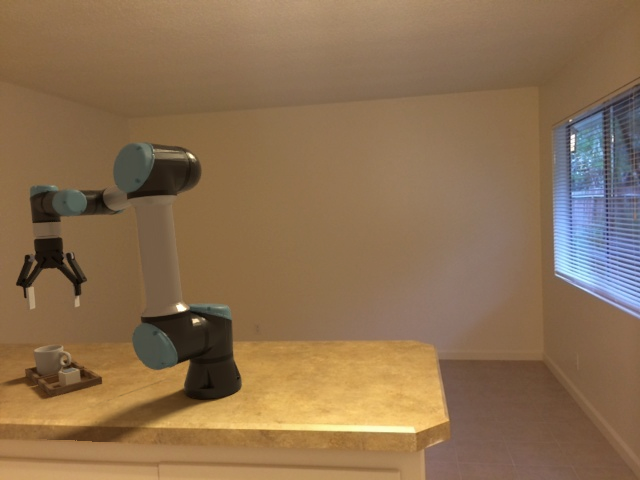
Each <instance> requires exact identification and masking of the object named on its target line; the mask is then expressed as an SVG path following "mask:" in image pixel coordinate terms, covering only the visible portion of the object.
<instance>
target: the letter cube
mask: <svg viewBox="0 0 640 480" xmlns="http://www.w3.org/2000/svg"><path fill="white" fill-rule="evenodd" d="M58 373H59V385H60V386H65V385H69V384H73V383H76V382H80V381H81V380H80V370H78V369H75V368H70V369H66V370H63V371H60V372H58Z"/></svg>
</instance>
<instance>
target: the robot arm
mask: <svg viewBox="0 0 640 480" xmlns="http://www.w3.org/2000/svg"><path fill="white" fill-rule="evenodd" d="M202 171H203V169H202V164H201V162H200V160H199V158H198V156H197V155H196V154H195V153H194V152H193V151H191V150H190V149H187V148H186V147H183V146H178V145H177V146H176V145H166V144H158V143H151V142H131V143H127V144H126V145H124V146H123V147H122V148H121V149H120V150H119V151H118V153H117V155H116V157H115V160H114V163H113V169H112V176H113V181H114V184H113V185H111V186H108V187H107V188H104V189H100V190H99V189H98V190H97V189H96V190H95V189H94V190H90V189H85V190H84V189H82V190H81V189H74V188H73V189H72V188H70V189H68V188H65V189H64V188H63V189H60V190H59V187H58V186H57V185H53V184H39V185H36V184H35V185H31V186H30V188H29V203H30V213H31V221H32V225H31V226H32V233H33V234H32V236H33V238H34V240H33V247H34V251H35V254H32V253H29V254H25V255H24V262H23V265H22V267H21V270H20V273H19V275H18V277H17V280H16V282H15V285H16V286H17V287H20V288H22V290H23V297H24V299H26V305H27V307H26V308H27V310H29V311H30V310H33V309H36V299H35V298H36V297H35V287H34V286H33V285H32V284H34V282H35V280H36V279H37V278H38V276H39V275H40V274H41V272H42V271H44V270H47V269H52V270H53V269H57V270H59V271H60V272H61V274H63V275H64V277H66V278H67V279H68V280H69V281H70V283H72V285H71V286H70V289H71V292H70V293H71V303H72V304H71V305H72V308H74V309H75V308H78V307H80V306H81V304H80V296H81V295H82V284H84V283H87V282H88V279H87V277H86V275H85V274H84V272H83V270H82V268H81V266H80V264H79V263H78V261H77V260H76V256H75V253H74V251H71V252H67V253H64V250H63V249H64V243H63V241H64V240H63V238H62V236H63V231H62V222H61V221H62V219H61V218H62V217H81V216H100V215H101V216H104V215H105V216H106V215H107V216H114V215H121V214H122V213H124V211H125V210H126V209H128V208H129V207H133V208H134V211H135V220H136V221H135V222H136V228H137V230H136V231H137V237H138V247H139V248H138V249H139V255H140V263H141V264H140V265H141V273H142V280H143V281H142V282H143V290H144V291H143V293H144V298H145V308H144V309H143V310H142V312H141V313H140V322H141V323H140V324H138V325H137V326H136V327H135V328H134V330H133V332H132V337H131V341H132V347H133V350H134V352H135V355H136V358H138V359H139V360H140V361H141V362H142V364H143V365H144V366H145V367H146V368H148V369H150V370H153V371H160V370H165V369H168V368H174V367H175V366H176V365H179V364H182V363H185V362H188V361H189V363H188V364H189V365H188V368H187V372H186V376H185V380H184V383H183V387H184V389H183V390H184V391H183V392H184V394H185V396H187V397H189V398H193V399H197V400H198V399H199V400H211V399H217V398H218V399H220V398H222V397H226V396H230V395H233V394H235V393H236V392H238V391H239V390H241V388H242V386H243V385H242V383H243V381H242V376H241V374H240V373H241V372H240V371H239V368H238V366H237V363H236V361H235V358H234V357H235V355H234V336H233V318H232V312H231V311H232V310H231V308H230V307H229V305H227V304H222V303H208V302H207V303H205V302H203V303H189V304H186V303H185V301H183V300H184V299H183V292H182V284H181V272H180V265H179V264H180V263H179V255H178V249H177V240H176V237H177V236H176V230H175V219H174V210H173V204H174V202H175V201H176V200H177V199H179V198H178V195H179V194H181V193H185V192H188V191H190V190H193V189H194V188H195V187H196V186H197V185H198V184H199V183H200V180H201V178H202V174H203V173H202ZM64 260H66V261H67V263H68V265H69V267H70V268H71V269H70V268H69V267H68V266H67V264H66V263H65V262H64ZM35 261H36V265H34V267H33V264H34V262H35ZM32 267H33V269H32ZM31 269H32V270H31ZM30 271H31V272H30Z"/></svg>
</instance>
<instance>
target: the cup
mask: <svg viewBox="0 0 640 480" xmlns="http://www.w3.org/2000/svg"><path fill="white" fill-rule="evenodd" d="M64 356H65V357H66V358H67V359H66V360H67V363H66V364H65V363H64V362H63V360H64ZM33 357H34V362H35V367H37V372H38V374H39V375H40V376H45V375H49V374H53V373H58V372H60V371H62V369H63V367H67V366H69V365H70V363H71V359H72V356H71V353H69V352H68V351H65V350H64V345H62V344H49V345H44V346H41V347H38V348H35V349H34V350H33Z"/></svg>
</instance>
